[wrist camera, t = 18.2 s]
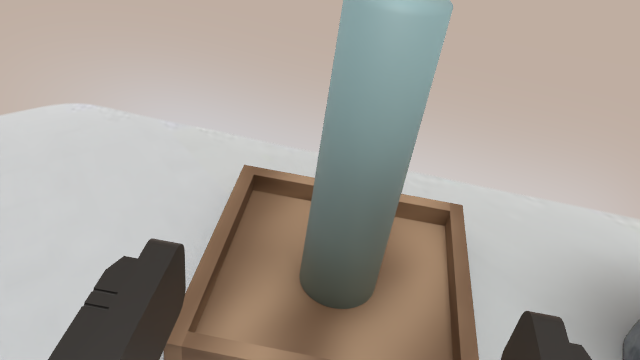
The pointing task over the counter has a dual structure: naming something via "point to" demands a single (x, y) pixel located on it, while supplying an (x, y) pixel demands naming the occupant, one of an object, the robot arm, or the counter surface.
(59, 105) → the counter surface
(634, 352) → the moka pot
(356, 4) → the dowel pin
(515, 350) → the robot arm
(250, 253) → the tray
